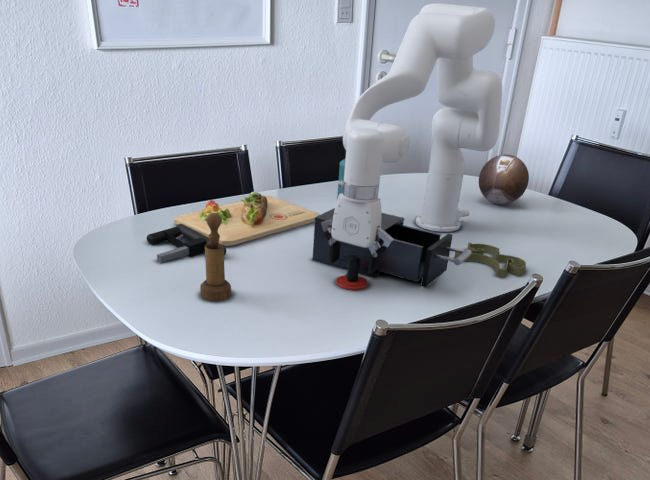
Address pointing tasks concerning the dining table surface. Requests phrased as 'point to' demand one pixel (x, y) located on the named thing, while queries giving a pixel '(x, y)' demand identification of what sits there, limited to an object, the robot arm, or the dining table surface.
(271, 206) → the cutting board
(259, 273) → the dining table surface
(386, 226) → the dark grey metal box
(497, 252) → the cookie cutter
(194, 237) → the toy gun
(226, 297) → the mortar and pestle
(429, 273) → the drawer
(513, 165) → the wooden sphere
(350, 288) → the lid
